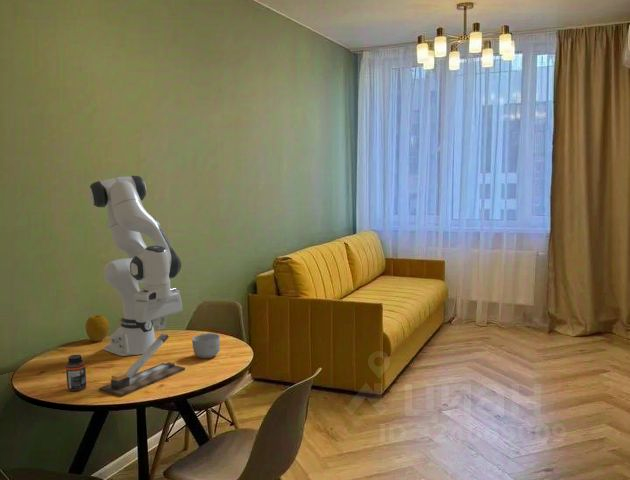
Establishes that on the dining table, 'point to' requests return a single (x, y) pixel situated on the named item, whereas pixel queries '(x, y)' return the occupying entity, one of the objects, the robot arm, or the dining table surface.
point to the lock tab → (119, 376)
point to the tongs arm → (146, 355)
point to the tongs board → (141, 379)
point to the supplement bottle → (75, 373)
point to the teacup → (206, 345)
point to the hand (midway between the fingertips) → (160, 329)
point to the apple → (97, 327)
